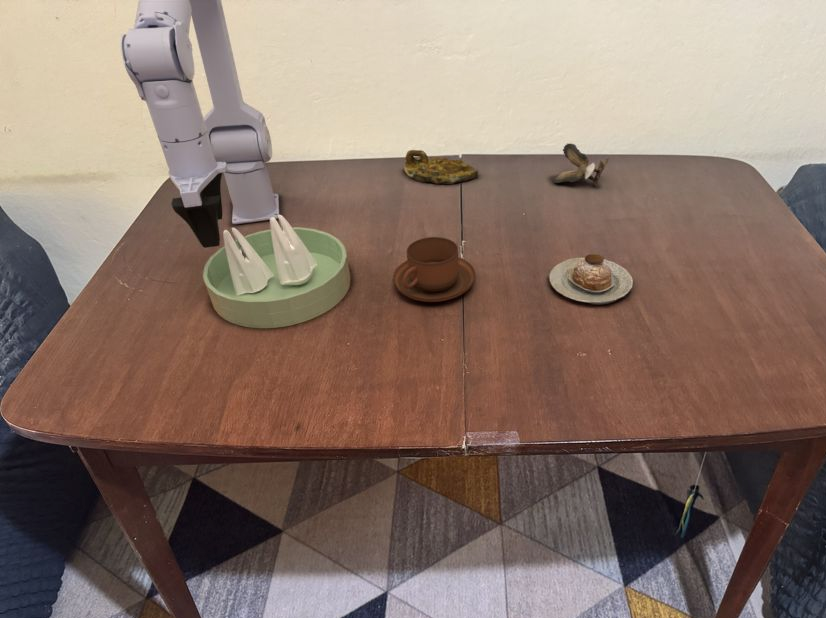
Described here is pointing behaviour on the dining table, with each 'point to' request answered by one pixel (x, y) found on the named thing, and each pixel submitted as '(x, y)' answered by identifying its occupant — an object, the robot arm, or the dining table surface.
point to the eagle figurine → (579, 166)
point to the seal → (437, 169)
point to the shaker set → (253, 271)
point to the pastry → (591, 280)
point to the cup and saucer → (433, 271)
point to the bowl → (275, 299)
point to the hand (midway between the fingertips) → (213, 232)
